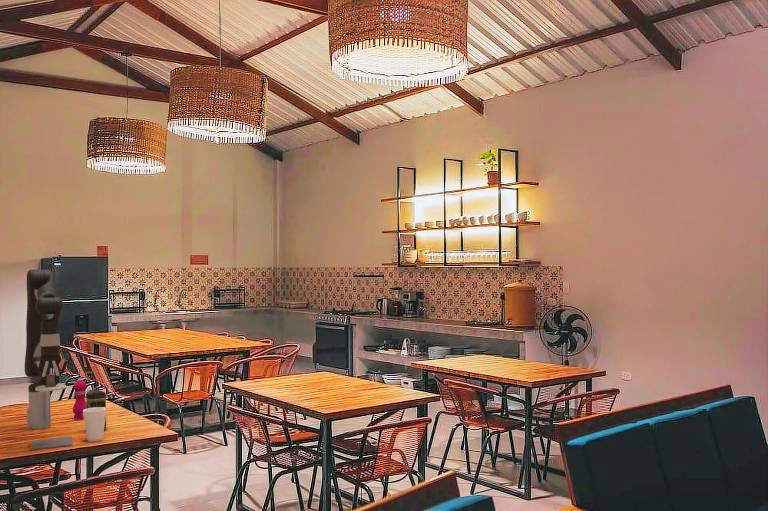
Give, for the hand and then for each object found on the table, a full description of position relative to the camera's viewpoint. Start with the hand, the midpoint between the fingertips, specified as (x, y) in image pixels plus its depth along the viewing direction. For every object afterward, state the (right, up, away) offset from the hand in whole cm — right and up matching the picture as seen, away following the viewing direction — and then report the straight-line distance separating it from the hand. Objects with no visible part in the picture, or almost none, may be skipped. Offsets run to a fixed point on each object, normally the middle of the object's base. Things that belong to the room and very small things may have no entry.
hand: (50, 384), depth 311 cm
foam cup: (+16, -25, +6) cm, 30 cm away
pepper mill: (-9, -26, +52) cm, 58 cm away
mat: (+1, -25, 0) cm, 25 cm away
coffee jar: (+10, -25, +24) cm, 36 cm away
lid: (0, -2, 0) cm, 2 cm away
